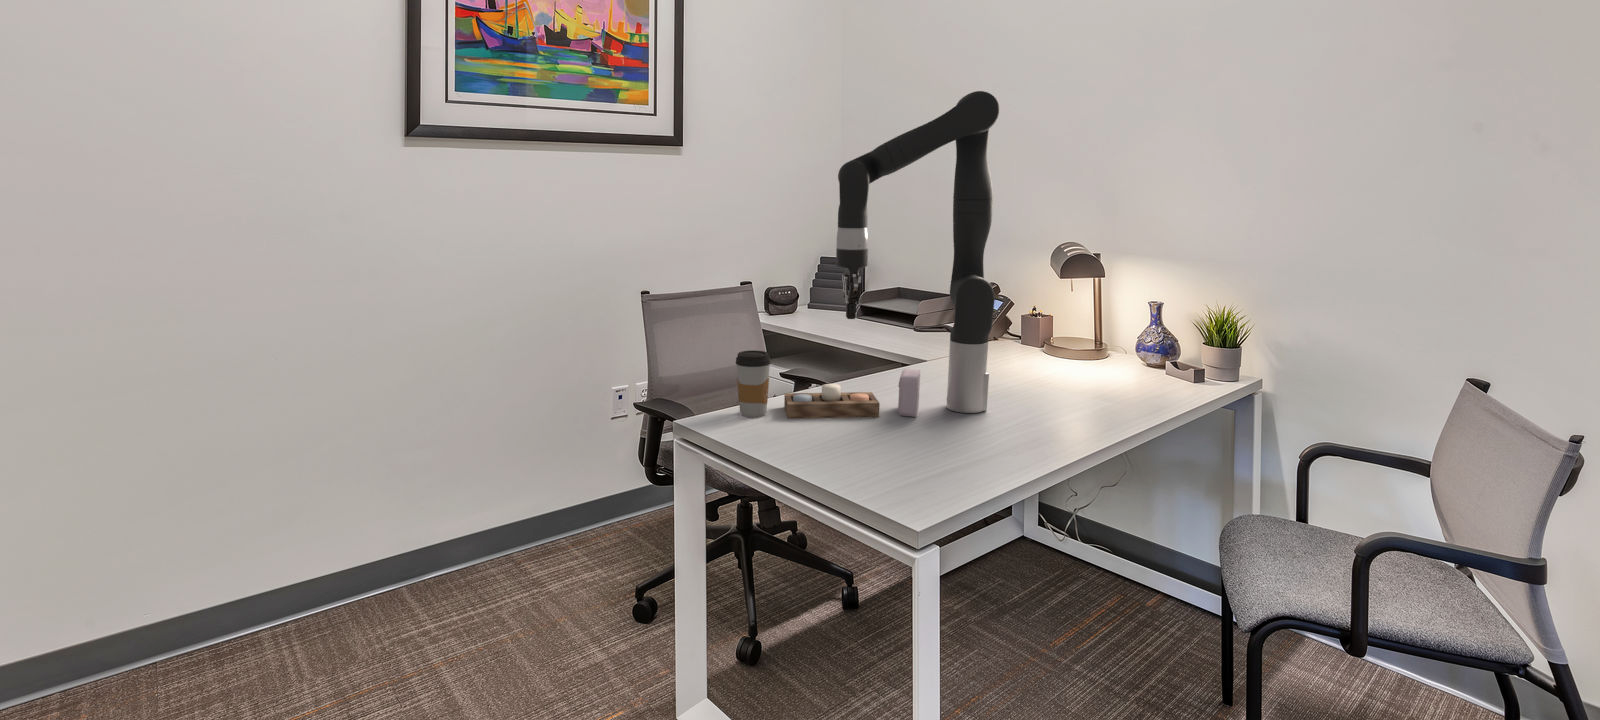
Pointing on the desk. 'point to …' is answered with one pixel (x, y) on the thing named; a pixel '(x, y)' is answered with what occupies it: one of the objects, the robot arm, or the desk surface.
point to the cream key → (831, 392)
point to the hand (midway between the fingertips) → (850, 318)
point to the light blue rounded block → (802, 398)
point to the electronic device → (909, 392)
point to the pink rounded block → (859, 397)
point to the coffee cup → (753, 382)
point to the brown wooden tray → (831, 407)
